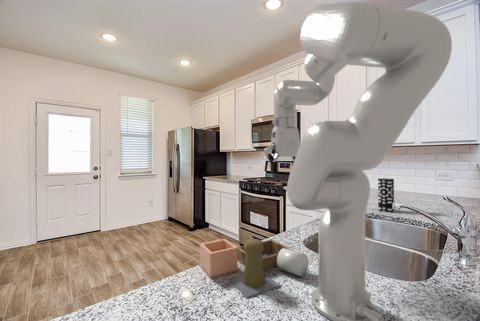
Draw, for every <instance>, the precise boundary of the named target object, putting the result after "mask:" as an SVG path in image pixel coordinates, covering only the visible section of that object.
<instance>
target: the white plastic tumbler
mask: <svg viewBox="0 0 480 321" xmlns="http://www.w3.org/2000/svg"><path fill="white" fill-rule="evenodd" d="M292 250H293V249H292ZM292 250H288V249H285V248H283V249H281V250H280V252H279V254H278V257H277V266H278V268H277V269H279V270H282V271H284V272H287V273H290V274H292V275H296V276H298V277H301V278H303V277H305V276H306V274H307V272H308V268H309V257H308V255H307V254H305V253H301V252H299V251H295V250H294V251H292Z"/></svg>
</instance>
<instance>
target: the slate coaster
mask: <svg viewBox="0 0 480 321" xmlns="http://www.w3.org/2000/svg"><path fill="white" fill-rule="evenodd" d="M243 276H244V272H243V273H240V274H237V275H233V276H229V277H228V280H229V281H230V282H231V283H232V285H233V286H234V287H235V288H236V289H237V290H238V291H239V292H240V293H241V294H242V295H243V296H244V297H245V298H246V299H249V298H252V297H255V296H258V295H260V294H263V293H265V292H268V291H271V290H274V289H276V288H279V287H281V284H279V283H278V282H276V281H275V280H274V279H273V278H271V277H270V276H269V275H267V274H266V272H264V276H265V284H264V285H263V286H261V287H257V288H252V287H248V286H246V285H245V284H244V283H243Z"/></svg>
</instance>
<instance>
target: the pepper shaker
mask: <svg viewBox="0 0 480 321" xmlns="http://www.w3.org/2000/svg"><path fill="white" fill-rule="evenodd" d="M262 242H263V241H261V240H260V239H258V238H249V239H247V240H246V241H245V242H244V243H243V244H244V245H243V246H244V250H245V252H246V259H245V266H244V268H243V270H244V271H243V273H244V276H243V283H244V284H245V285H246V286H248V287H252V288H257V287H261V286H263V285H264V284H265V276H264V273H265V272H264V269H263V262H262V258H263V256H262V255H263V254H261V253H262V251H263V243H262Z"/></svg>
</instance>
